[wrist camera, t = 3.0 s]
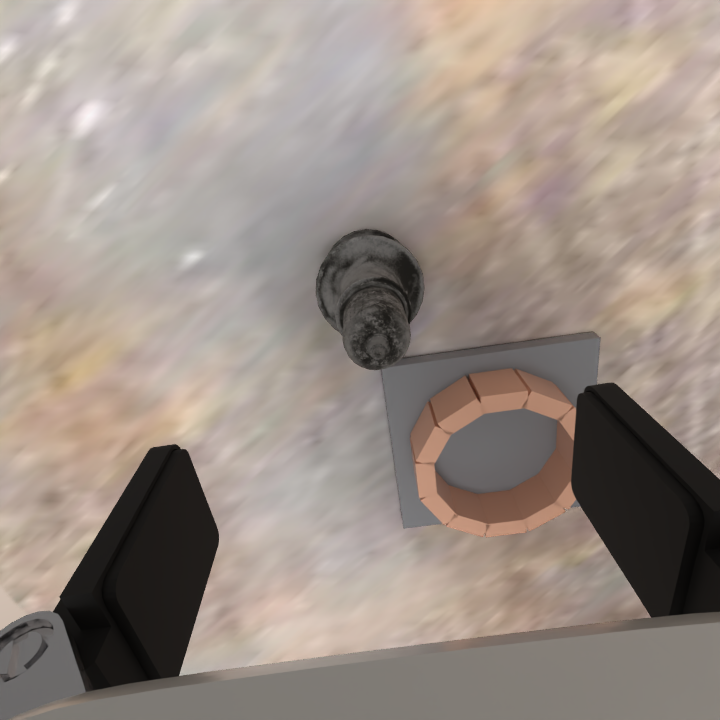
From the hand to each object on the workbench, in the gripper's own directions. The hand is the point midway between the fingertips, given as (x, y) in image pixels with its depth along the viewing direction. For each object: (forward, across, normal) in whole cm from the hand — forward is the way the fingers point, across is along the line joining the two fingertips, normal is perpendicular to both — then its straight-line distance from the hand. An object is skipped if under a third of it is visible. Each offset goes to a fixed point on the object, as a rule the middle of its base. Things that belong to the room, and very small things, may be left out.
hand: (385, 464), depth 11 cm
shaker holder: (+18, -7, +14) cm, 24 cm away
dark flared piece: (+19, 0, +1) cm, 19 cm away
